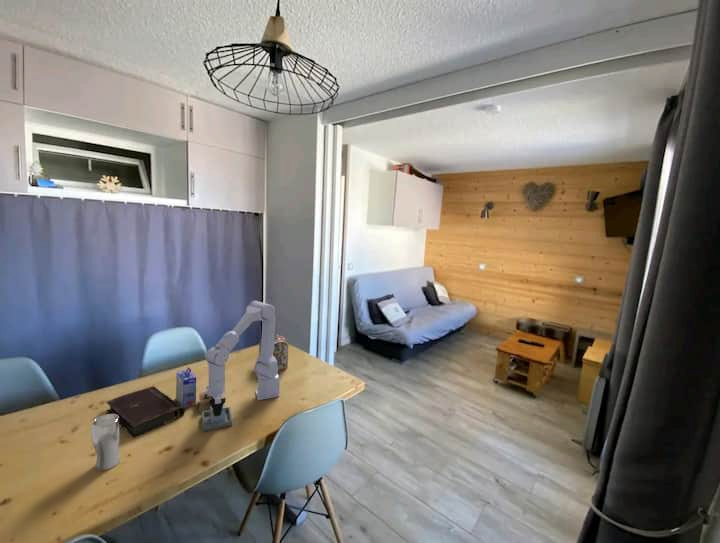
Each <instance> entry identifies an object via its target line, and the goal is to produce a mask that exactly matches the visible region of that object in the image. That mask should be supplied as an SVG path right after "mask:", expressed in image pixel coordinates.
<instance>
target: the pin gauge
mask: <svg viewBox="0 0 720 543" xmlns="http://www.w3.org/2000/svg"><path fill="white" fill-rule="evenodd" d="M205 388H206V389H205V390H207V389H209V385H207V386H206V387H205ZM209 398H211V396H210V394H206V399H209Z"/></svg>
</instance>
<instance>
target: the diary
mask: <svg viewBox="0 0 720 543" xmlns="http://www.w3.org/2000/svg"><path fill="white" fill-rule="evenodd" d="M105 403H106V404H107V405H108V406H109V408H110V409H106V412H107V414H117V415H118V416H119V421H120V427H121V428H123V429H126V431H127V433H128V434H129V436H131V437H132V439H135V438H138V437H140V436H142V435H144V434H146V433H149V432H151V431H154V430H156V429H158V428H160V427H162V426H164V425H165V423H167V422H170V421H172V420H174V419H178V418H179V415H180V416H181V417H184V416H185V413H186V412H185V411H186V410H185V407H184V408H183V407H182V406H181V405H180V403H177V402H176V401H174V400H173V399H172V398H171V397H169V395H166V394H165V393H163V391H161V390H160V389H159V388H157V387H156V386H155V385H152V386H149V387H146V388H142V389H139V390H136V391H133V392H129V393H126V394H123V395H120V396H117V397H115V398H112V399H110V400H107V401H106V402H105Z"/></svg>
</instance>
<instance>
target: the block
mask: <svg viewBox="0 0 720 543" xmlns="http://www.w3.org/2000/svg"><path fill="white" fill-rule="evenodd" d="M225 408H226V405H225V403H224V405H223V407H222V412H221V415H220V416H216V417H215V416H214V413H213V409H212V406H211V405H210V410H209V411H210V420H211V424H216V423H220V422H225Z"/></svg>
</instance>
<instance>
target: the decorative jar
mask: <svg viewBox="0 0 720 543" xmlns="http://www.w3.org/2000/svg"><path fill="white" fill-rule="evenodd" d="M260 354H261V340H260V341H259V342H258V357H259V356H260ZM273 356H274V357H275V359H276V360H277V366H278V371H280V370H284V369H288V363H289V343H288V341H287V340H286V338H285V337H284V336H282V335H279V334H277V333H275V335H274V349H273Z"/></svg>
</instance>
